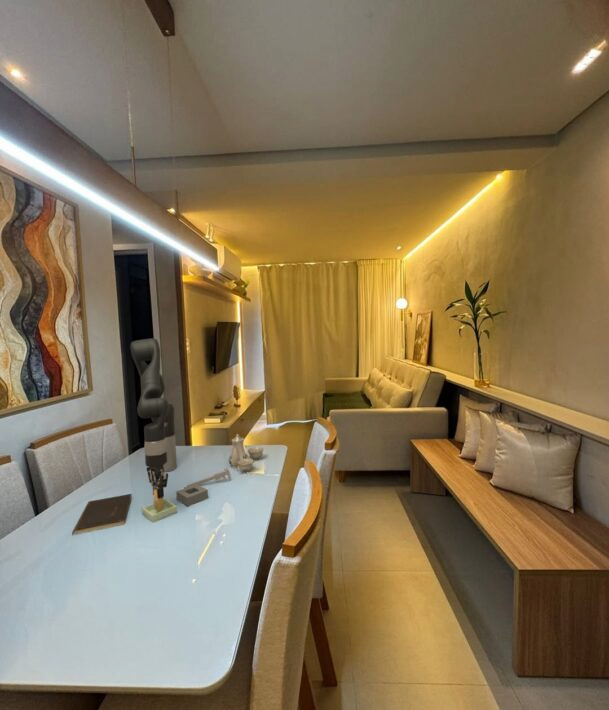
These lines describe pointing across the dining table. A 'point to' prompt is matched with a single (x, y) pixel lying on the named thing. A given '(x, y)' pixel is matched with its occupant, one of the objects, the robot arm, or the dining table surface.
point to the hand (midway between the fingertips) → (158, 496)
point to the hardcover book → (103, 514)
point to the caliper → (212, 478)
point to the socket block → (192, 495)
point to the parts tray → (159, 511)
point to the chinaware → (243, 455)
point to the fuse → (157, 500)
